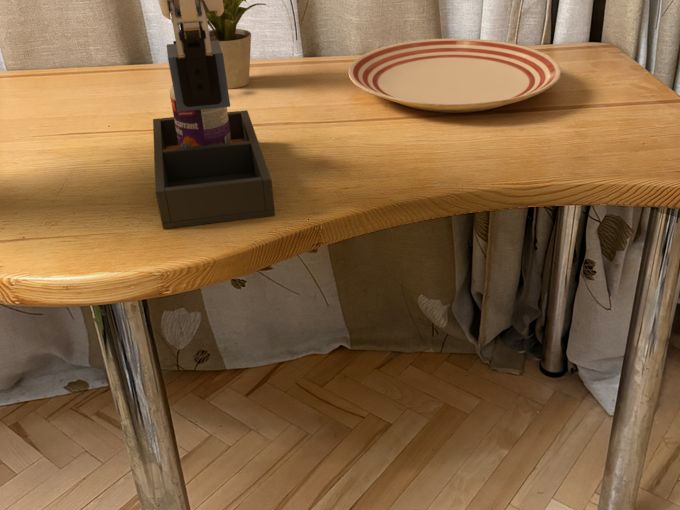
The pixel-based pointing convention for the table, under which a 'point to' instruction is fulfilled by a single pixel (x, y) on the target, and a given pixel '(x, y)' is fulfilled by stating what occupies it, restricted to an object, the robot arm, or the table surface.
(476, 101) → the dinner plate
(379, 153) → the table surface
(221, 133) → the pill bottle
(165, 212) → the sorter
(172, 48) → the gray cube
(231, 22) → the house plant
